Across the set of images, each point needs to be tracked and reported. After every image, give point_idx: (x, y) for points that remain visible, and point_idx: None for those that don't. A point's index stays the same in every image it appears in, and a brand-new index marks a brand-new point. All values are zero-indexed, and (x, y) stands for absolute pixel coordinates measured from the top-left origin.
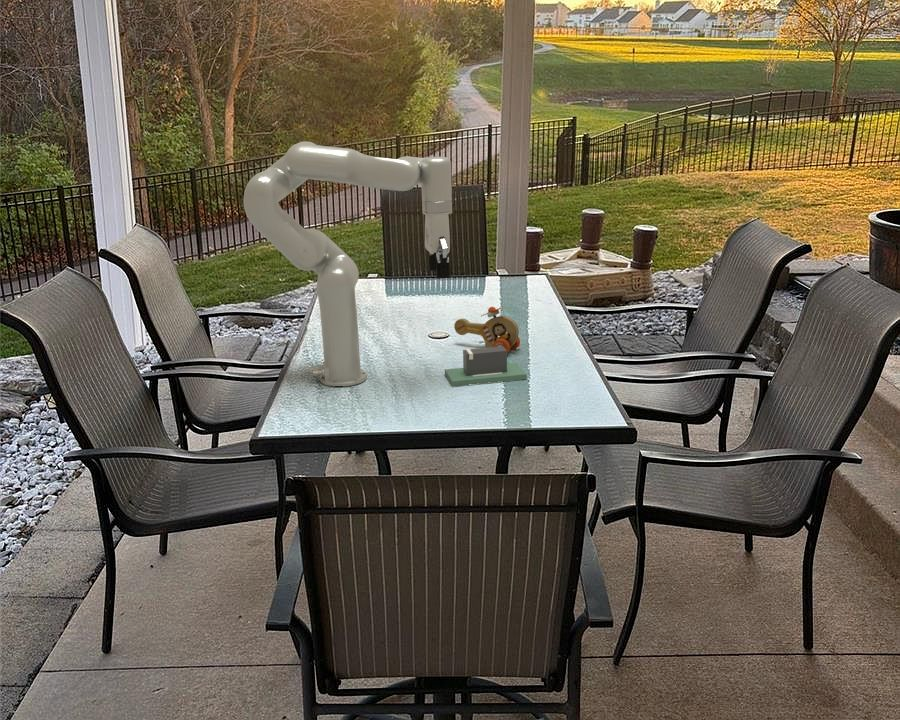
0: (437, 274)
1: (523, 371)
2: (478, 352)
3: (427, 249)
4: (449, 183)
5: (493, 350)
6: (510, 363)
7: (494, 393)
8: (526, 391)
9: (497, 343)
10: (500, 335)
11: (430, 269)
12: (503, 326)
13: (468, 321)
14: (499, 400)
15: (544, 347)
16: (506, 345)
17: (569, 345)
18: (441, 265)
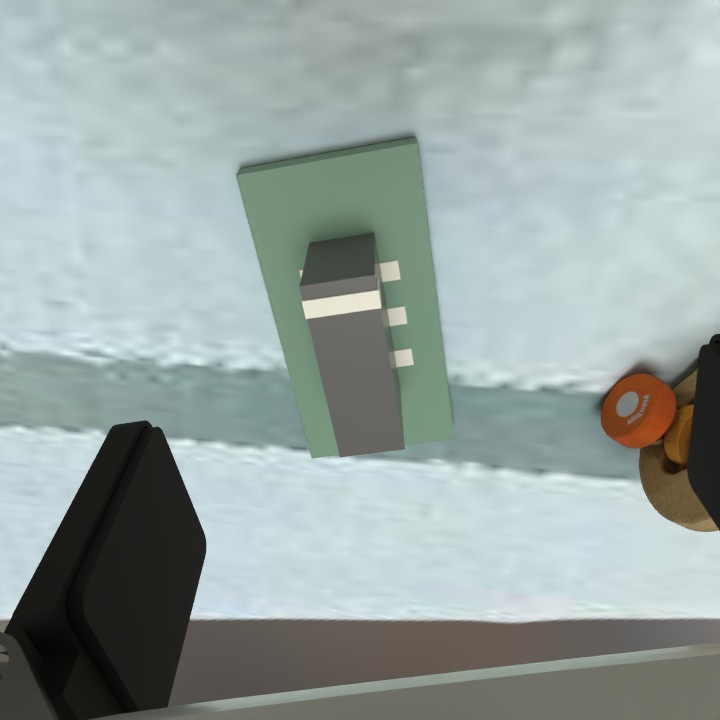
0: (101, 460)
1: None
2: (326, 344)
3: (541, 707)
4: None
5: (349, 408)
6: (447, 419)
7: (162, 330)
8: (187, 432)
9: (644, 405)
10: None
11: (711, 344)
12: None
13: None
14: (86, 342)
15: (664, 528)
16: (611, 434)
17: (655, 593)
18: (20, 637)
